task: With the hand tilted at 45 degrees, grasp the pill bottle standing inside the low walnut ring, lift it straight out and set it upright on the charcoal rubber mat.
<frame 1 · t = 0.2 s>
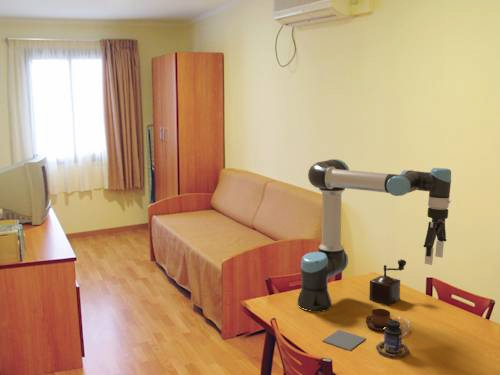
hand: (433, 260, 199), 28 cm above the table, tool pointing down, fingers open, 13 cm apart
manual coffee grinder: (388, 298, 233), on the table
mat: (344, 340, 193), on the table
cup and saucer: (380, 327, 205), on the table
pill bottle: (392, 351, 184), resting in ring
ring: (392, 350, 184), on the table
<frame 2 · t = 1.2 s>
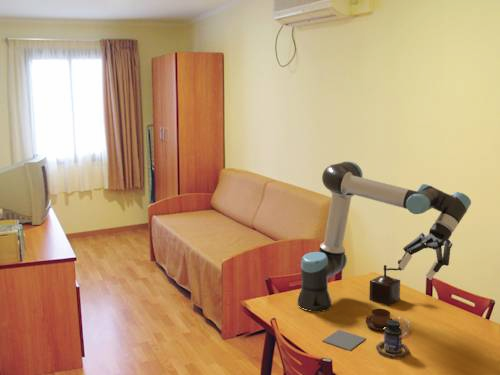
hand: (414, 272, 188), 27 cm above the table, tool tilted 45°, fingers open, 13 cm apart
nothing on the table moved.
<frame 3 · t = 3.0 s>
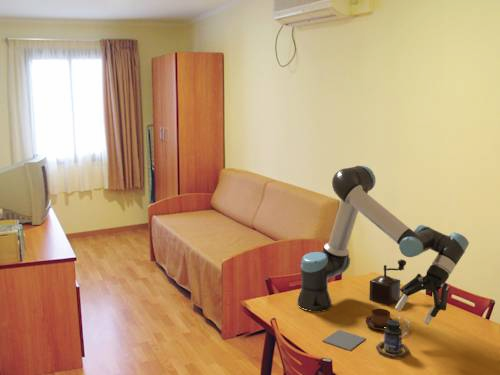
hand: (410, 316, 185), 12 cm above the table, tool tilted 45°, fingers open, 13 cm apart
nothing on the table moved.
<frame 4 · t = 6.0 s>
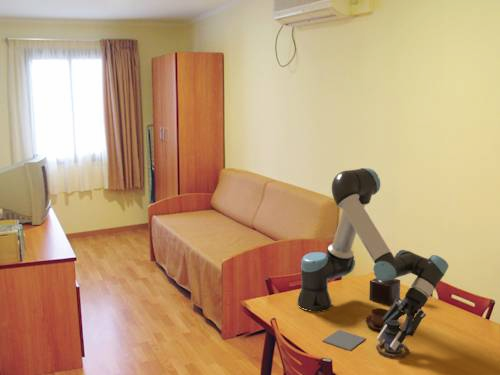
hand: (385, 344, 182), 3 cm above the table, tool tilted 45°, fingers closed on pill bottle, 6 cm apart
pill bottle: (392, 351, 184), resting in ring, touching gripper
everything else where it was.
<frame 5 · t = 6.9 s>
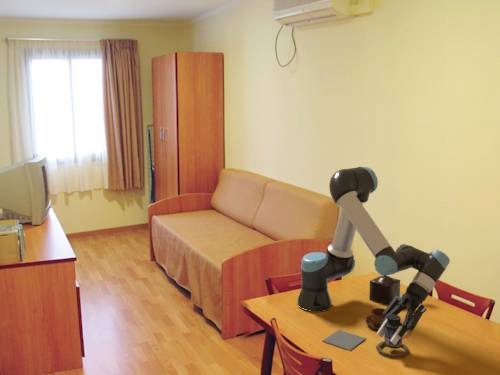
hand: (385, 338, 182), 6 cm above the table, tool tilted 45°, fingers closed on pill bottle, 6 cm apart
pill bottle: (392, 345, 184), point 2 cm above the table, touching gripper
everything else where it was.
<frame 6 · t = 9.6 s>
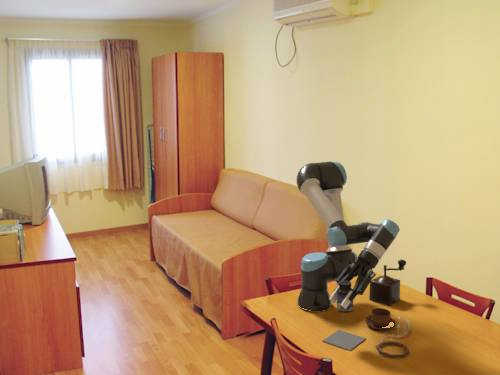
hand: (337, 303, 189), 16 cm above the table, tool tilted 45°, fingers closed on pill bottle, 6 cm apart
pill bottle: (344, 310, 191), point 12 cm above the table, touching gripper
everything else where it was.
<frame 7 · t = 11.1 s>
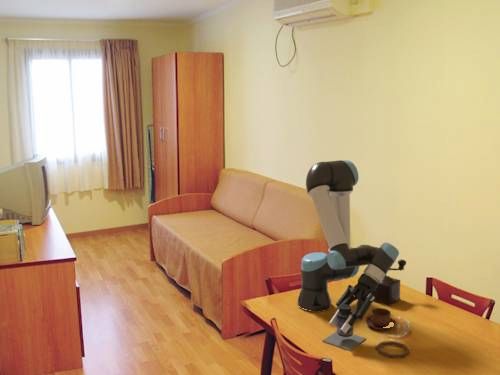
hand: (337, 327, 190), 6 cm above the table, tool tilted 45°, fingers closed on pill bottle, 6 cm apart
pill bottle: (344, 334, 192), point 3 cm above the table, touching gripper
everything else where it was.
when the fingers open (5 cm above the table, at t = 11.8 s): pill bottle drops 1 cm, resting on mat.
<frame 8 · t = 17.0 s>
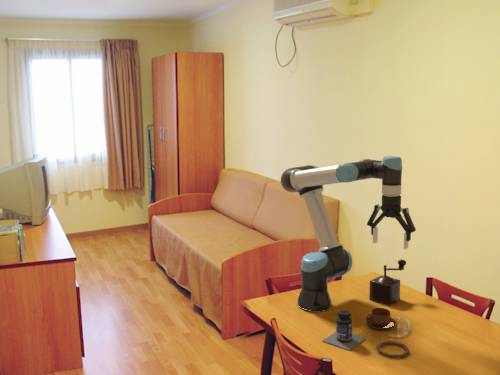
hand: (390, 245, 207), 32 cm above the table, tool pointing down, fingers open, 13 cm apart
pill bottle: (344, 339, 193), resting on mat
everything else where it was.
at the end: pill bottle inside the target area on the mat (0.2 cm from its centre), point 0.2 cm above the mat's base; pill bottle tilted 0°; the gripper is holding nothing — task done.
